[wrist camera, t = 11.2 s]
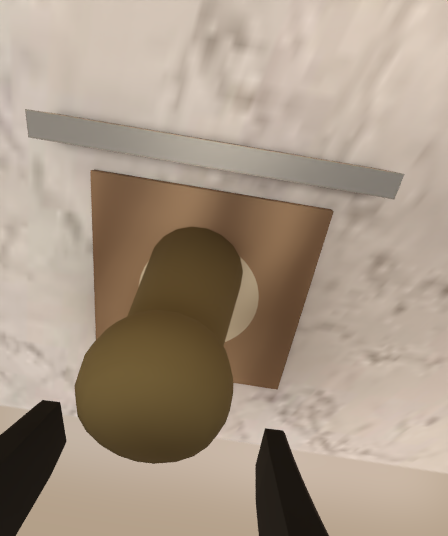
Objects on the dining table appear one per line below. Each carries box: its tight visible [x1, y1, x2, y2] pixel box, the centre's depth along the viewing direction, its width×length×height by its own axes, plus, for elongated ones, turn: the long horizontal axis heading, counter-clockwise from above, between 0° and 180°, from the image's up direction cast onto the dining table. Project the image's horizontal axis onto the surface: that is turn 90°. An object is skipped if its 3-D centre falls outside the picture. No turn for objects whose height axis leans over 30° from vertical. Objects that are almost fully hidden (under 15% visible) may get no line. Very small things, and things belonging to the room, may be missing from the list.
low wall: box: [25, 109, 404, 199], centre depth 15 cm, size 18×1×2 cm, turn 81°
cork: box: [75, 227, 243, 464], centre depth 13 cm, size 6×6×11 cm
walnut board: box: [91, 170, 333, 389], centre depth 19 cm, size 14×14×1 cm
